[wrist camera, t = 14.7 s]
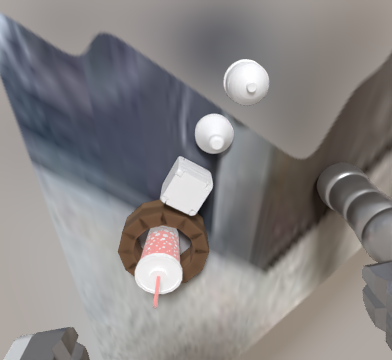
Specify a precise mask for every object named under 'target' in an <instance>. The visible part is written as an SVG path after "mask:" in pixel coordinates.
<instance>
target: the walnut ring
mask: <svg viewBox="0 0 392 360" xmlns="http://www.w3.org/2000/svg"><path fill="white" fill-rule="evenodd" d="M159 226H167V227H172V228H176V229H180V230H181V231H182V232H183V233H184V234H185V235H187V236H188V237H189V238H190V239H191V245H190V248H188V249H187V250H186V251H185V252H183V253H182V254H181V255H180V265H181V267H182V281H181V283H185V282H187V281H188V280H190V279H191V278H192V277H194V276H195V275H196V274H197V273H199V272H200V271H201V270H203V267H204V264H205V261H206V259H207V256H208V253H209V246H208V237H207V233H206V229H205V226H204V222H203V218H202V217H201V216H200V215H199V214H198V213H197V212H196V215H193V216H190V215H189V214H186V213H184V212H182V211H180V210H178V209H176V208H174V207H171V206H169V205H167V204H166V202H165V203H163V202H162V201H161V200H155V201H151V202H147V203H142V204H141V205H140V206H139V207H138V208H137V209H136V210H135V211H134V212H133V213H132V214H131V215H129V216H128V217H127V220H126V223H125V226H124V229H123V232H122V237H121V241H120V245H119V249H118V253H119V255H120V258H121V260H122V262H123V265H124V267H125V269H126V271H128V272H129V273H131V274H132V275H133V276H135V269H136V266H137V264H138V262H139V261H140V259H141V256H142V252H143V248H142V247H141V245H140V243H139V240H138V237H139V236H140V235H141V234H142V233H143V232H145V231H146V230H147V229H150V228H154V227H159ZM181 283H180V284H181Z"/></svg>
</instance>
